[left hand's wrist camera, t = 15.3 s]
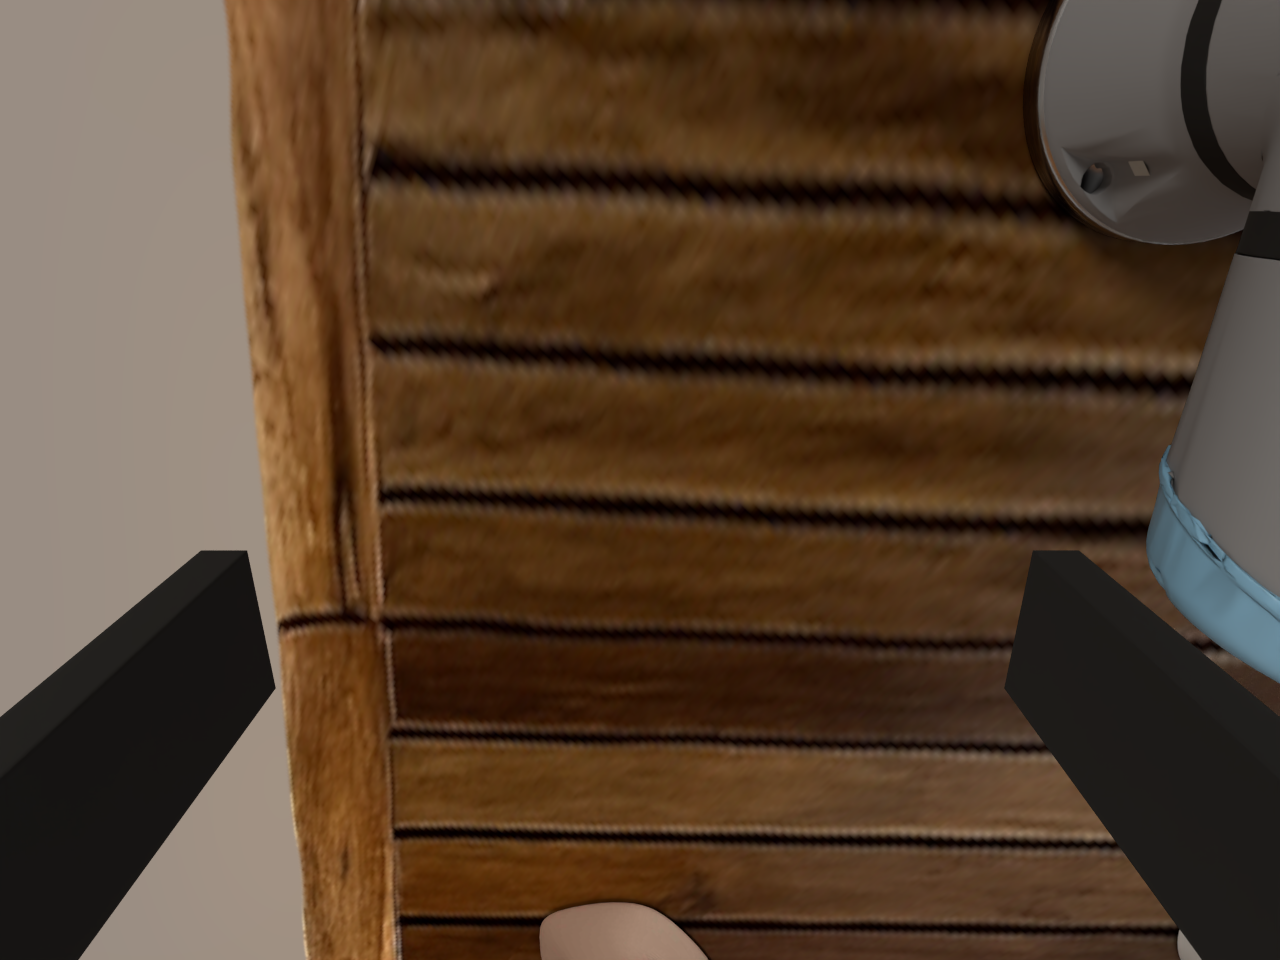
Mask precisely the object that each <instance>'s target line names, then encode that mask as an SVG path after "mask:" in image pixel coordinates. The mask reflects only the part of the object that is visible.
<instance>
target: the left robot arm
mask: <svg viewBox="0 0 1280 960" xmlns="http://www.w3.org/2000/svg"><path fill="white" fill-rule="evenodd" d="M1023 115H1024V127H1025V133H1026V140H1027V144H1028V147H1029V151H1030V155H1031V158H1032V160H1033V163H1034V166H1035V168H1036V171H1037V173H1038V175H1039V177H1040V179H1041V180H1042V182H1043V184H1044V186H1045V187H1046V189H1047V190H1048V192H1049V193H1050V195H1051V196H1052V197H1053V198H1054V199H1055V201H1056V202H1057V203H1058V204H1059V205H1060V206H1061V207H1062V208H1063V209H1064V210H1065V211H1066V212H1067V213H1068V214H1069V215H1070V216H1072V217H1073V218H1075V219H1076V220H1077V221H1079V222H1080V223H1081V224H1083V225H1085V226H1087V227H1089V228H1090V229H1092V230H1094V231H1097V232H1099V233H1102V234H1104V235H1106V236H1110V237H1114V238H1117V239H1121V240H1127V241H1134V242H1142V243H1151V244H1164V245H1181V244H1192V243H1199V242H1205V241H1209V240H1213V239H1217V238H1221V237H1224V236H1227V235H1230V234H1233V233H1235V232H1238V231H1240V230H1242V229H1244V230H1243V233H1242V236H1241V239H1240V242H1239V245H1238V248H1237V251H1236V253H1235V254H1234V256H1233V260H1232V263H1231V266H1230V269H1229V272H1228V275H1227V278H1226V281H1225V284H1224V287H1223V291H1222V294H1221V297H1220V300H1219V303H1218V306H1217V309H1216V312H1215V315H1214V318H1213V321H1212V325H1211V328H1210V331H1209V334H1208V337H1207V340H1206V343H1205V346H1204V349H1203V352H1202V356H1201V359H1200V362H1199V365H1198V368H1197V371H1196V374H1195V377H1194V380H1193V383H1192V387H1191V390H1190V393H1189V395H1188V398H1187V401H1186V404H1185V407H1184V410H1183V413H1182V415H1181V418H1180V421H1179V424H1178V427H1177V430H1176V433H1175V436H1174V438H1173V441H1172V444H1171V445H1169V446H1168V447H1167V449H1166V450H1165V452H1164V454H1163V457H1162V460H1161V462H1160V464H1159V478H1160V486H1159V490H1158V495H1157V499H1156V503H1155V507H1154V511H1153V515H1152V518H1151V522H1150V525H1149V529H1148V534H1147V540H1146V544H1147V548H1146V550H1147V556H1148V561H1149V565H1150V568H1151V570H1152V572H1153V574H1154V575H1155V577H1156V579H1157V581H1158V583H1159V584H1160V585H1161V586H1162V587H1163V588H1164V589H1165V591H1166V595H1167V596H1168V598H1169V600H1170V601H1171V602H1172V604H1173V605H1174V606H1175V607H1176V608H1177V609H1178V610H1179V611H1180V612H1181V613H1182V614H1183V615H1184V616H1185V617H1186V618H1187V619H1188V620H1189V621H1190V622H1191V623H1192V624H1193V625H1194V626H1195V627H1197V628H1198V629H1199V630H1200V631H1201V632H1203V633H1204V634H1205V635H1206V636H1207V637H1209V638H1210V639H1211V640H1213V641H1214V642H1215V643H1216V644H1218V645H1219V646H1220V647H1222V648H1223V649H1225V650H1226V651H1228V652H1229V653H1230V654H1232V655H1233V656H1235V657H1237V658H1238V659H1240V660H1241V661H1243V662H1244V663H1246V664H1248V665H1249V666H1251V667H1252V668H1254V669H1256V670H1257V671H1259V672H1261V673H1262V674H1264V675H1266V676H1268V677H1269V678H1271V679H1273V680H1275V681H1276V682H1278V683H1280V0H1050V2H1049V4H1048V6H1047V8H1046V10H1045V12H1044V14H1043V16H1042V19H1041V21H1040V24H1039V26H1038V29H1037V32H1036V34H1035V37H1034V40H1033V44H1032V47H1031V51H1030V54H1029V59H1028V64H1027V68H1026V74H1025V82H1024V93H1023ZM274 690H275V683H274V678H273V673H272V668H271V664H270V659H269V654H268V649H267V644H266V640H265V635H264V630H263V625H262V620H261V616H260V611H259V606H258V601H257V596H256V591H255V587H254V582H253V577H252V572H251V568H250V563H249V558H248V553H247V551H200V552H199V553H198V554H196V555H195V556H194V557H193V558H192V559H190V560H189V561H188V562H187V563H186V564H184V565H183V566H182V567H181V568H180V569H178V570H177V571H176V572H175V573H174V574H172V575H171V576H170V577H169V578H168V579H166V580H165V581H164V582H163V583H161V584H160V585H159V586H158V587H157V588H155V589H154V590H153V591H152V592H151V593H149V594H148V595H147V596H146V597H145V598H143V599H142V600H141V601H140V602H139V603H137V604H136V605H135V606H134V607H132V608H131V609H130V610H129V611H128V612H126V613H125V614H124V615H123V616H122V617H120V618H119V619H118V620H117V621H116V622H114V623H113V624H112V625H111V626H110V627H108V628H107V629H106V630H105V631H104V632H102V633H101V634H100V635H99V636H98V637H96V638H95V639H94V640H93V641H91V642H90V643H89V644H88V645H87V646H85V647H84V648H83V649H82V650H81V651H79V652H78V653H77V654H76V655H75V656H73V657H72V658H71V659H70V660H69V661H67V662H66V663H65V664H64V665H63V666H61V667H60V668H59V669H58V670H57V671H55V672H54V673H53V674H52V675H51V676H49V677H48V678H47V679H46V680H44V681H43V682H42V683H41V684H40V685H38V686H37V687H36V688H35V689H34V690H32V691H31V692H30V693H29V694H28V695H26V696H25V697H24V698H23V699H22V700H20V701H19V702H18V703H17V704H16V705H14V706H13V707H12V708H11V709H9V710H8V711H7V712H6V713H5V714H3V715H2V716H1V717H0V960H78V959H79V958H80V957H81V955H82V954H83V953H84V951H85V950H86V948H87V947H88V946H89V944H90V943H91V941H92V940H93V939H94V937H95V936H96V935H97V933H98V932H99V931H100V929H101V928H102V926H103V925H104V924H105V922H106V921H107V920H108V918H109V917H110V915H111V914H112V913H113V911H114V910H115V909H116V907H117V906H118V904H119V903H120V902H121V900H122V899H123V898H124V896H125V895H126V893H127V892H128V891H129V889H130V888H131V886H132V885H133V884H134V882H135V881H136V880H137V878H138V877H139V876H140V874H141V873H142V871H143V870H144V869H145V867H146V866H147V865H148V863H149V862H150V860H151V859H152V858H153V856H154V855H155V854H156V852H157V851H158V849H159V848H160V847H161V845H162V844H163V843H164V841H165V840H166V838H167V837H168V836H169V834H170V833H171V831H172V830H173V829H174V827H175V826H176V825H177V823H178V822H179V821H180V819H181V818H182V816H183V815H184V814H185V812H186V811H187V809H188V808H189V807H190V805H191V804H192V803H193V801H194V800H195V798H196V797H197V796H198V794H199V793H200V792H201V790H202V789H203V787H204V786H205V785H206V783H207V782H208V780H209V779H210V778H211V776H212V775H213V774H214V772H215V771H216V770H217V768H218V767H219V765H220V764H221V763H222V761H223V760H224V759H225V757H226V756H227V754H228V753H229V752H230V750H231V749H232V748H233V746H234V745H235V743H236V742H237V741H238V739H239V738H240V737H241V735H242V734H243V732H244V731H245V730H246V728H247V727H248V726H249V724H250V723H251V721H252V720H253V719H254V717H255V716H256V714H257V713H258V712H259V710H260V709H261V708H262V706H263V705H264V703H265V702H266V701H267V699H268V698H269V697H270V695H271V694H272V692H273V691H274ZM1005 690H1006V691H1007V693H1008V694H1009V695H1010V697H1011V698H1012V699H1013V701H1014V702H1015V704H1016V705H1017V706H1018V708H1019V709H1020V710H1021V712H1022V713H1023V715H1024V716H1025V717H1026V719H1027V720H1028V721H1029V723H1030V724H1031V726H1032V727H1033V728H1034V730H1035V731H1036V732H1037V734H1038V735H1039V737H1040V738H1041V739H1042V741H1043V742H1044V743H1045V745H1046V746H1047V748H1048V749H1049V750H1050V752H1051V753H1052V754H1053V756H1054V757H1055V759H1056V760H1057V761H1058V763H1059V764H1060V765H1061V767H1062V768H1063V770H1064V771H1065V772H1066V774H1067V775H1068V776H1069V778H1070V779H1071V781H1072V782H1073V783H1074V785H1075V786H1076V787H1077V789H1078V790H1079V792H1080V793H1081V794H1082V796H1083V797H1084V798H1085V800H1086V801H1087V803H1088V804H1089V805H1090V807H1091V808H1092V809H1093V811H1094V812H1095V814H1096V815H1097V816H1098V818H1099V819H1100V821H1101V822H1102V823H1103V825H1104V826H1105V827H1106V829H1107V830H1108V832H1109V833H1110V834H1111V836H1112V837H1113V838H1114V840H1115V841H1116V843H1117V844H1118V845H1119V847H1120V848H1121V849H1122V851H1123V852H1124V854H1125V855H1126V856H1127V858H1128V859H1129V860H1130V862H1131V863H1132V865H1133V866H1134V867H1135V869H1136V870H1137V871H1138V873H1139V874H1140V876H1141V877H1142V878H1143V880H1144V881H1145V882H1146V884H1147V885H1148V887H1149V888H1150V889H1151V891H1152V892H1153V893H1154V895H1155V896H1156V898H1157V899H1158V900H1159V902H1160V903H1161V904H1162V906H1163V907H1164V909H1165V910H1166V911H1167V913H1168V914H1169V915H1170V917H1171V918H1172V920H1173V921H1174V922H1175V924H1176V925H1177V926H1178V928H1179V929H1180V931H1181V932H1182V933H1183V935H1184V936H1185V937H1186V939H1187V940H1188V942H1189V943H1190V944H1191V946H1192V947H1193V948H1194V950H1195V951H1196V953H1197V954H1198V955H1199V957H1200V958H1201V960H1280V717H1279V716H1278V715H1277V714H1275V713H1274V712H1273V711H1272V710H1271V709H1269V708H1268V707H1267V706H1266V705H1264V704H1263V703H1262V702H1261V701H1260V700H1258V699H1257V698H1256V697H1255V696H1254V695H1252V694H1251V693H1250V692H1249V691H1248V690H1246V689H1245V688H1244V687H1243V686H1242V685H1240V684H1239V683H1238V682H1237V681H1236V680H1234V679H1233V678H1232V677H1231V676H1230V675H1228V674H1227V673H1226V672H1225V671H1223V670H1222V669H1221V668H1220V667H1219V666H1217V665H1216V664H1215V663H1214V662H1213V661H1211V660H1210V659H1209V658H1208V657H1207V656H1205V655H1204V654H1203V653H1202V652H1201V651H1199V650H1198V649H1197V648H1196V647H1195V646H1193V645H1192V644H1191V643H1190V642H1189V641H1187V640H1186V639H1185V638H1184V637H1182V636H1181V635H1180V634H1179V633H1178V632H1176V631H1175V630H1174V629H1173V628H1172V627H1170V626H1169V625H1168V624H1167V623H1166V622H1164V621H1163V620H1162V619H1161V618H1160V617H1158V616H1157V615H1156V614H1155V613H1154V612H1152V611H1151V610H1150V609H1149V608H1148V607H1146V606H1145V605H1144V604H1143V603H1141V602H1140V601H1139V600H1138V599H1137V598H1135V597H1134V596H1133V595H1132V594H1131V593H1129V592H1128V591H1127V590H1126V589H1125V588H1123V587H1122V586H1121V585H1120V584H1119V583H1117V582H1116V581H1115V580H1114V579H1113V578H1111V577H1110V576H1109V575H1108V574H1106V573H1105V572H1104V571H1103V570H1102V569H1100V568H1099V567H1098V566H1097V565H1096V564H1094V563H1093V562H1092V561H1091V560H1090V559H1088V558H1087V557H1086V556H1085V555H1084V554H1082V553H1081V552H1080V551H1033V553H1032V558H1031V563H1030V567H1029V572H1028V577H1027V582H1026V587H1025V591H1024V596H1023V601H1022V606H1021V611H1020V616H1019V620H1018V625H1017V630H1016V635H1015V640H1014V644H1013V649H1012V654H1011V659H1010V664H1009V668H1008V673H1007V678H1006V683H1005Z"/></svg>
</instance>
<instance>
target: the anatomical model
mask: <svg viewBox="0 0 1280 960" xmlns="http://www.w3.org/2000/svg"><path fill="white" fill-rule="evenodd" d="M540 949H541V957H542V960H708V959H707V957H706V956H705V954H704V953H703V952H702V951H701V950H700V948H699V947H698V946H697V945H696V944H695V943H694V942H693V941H692V940H691V939H690V938H689V937H688V936H687V935H686V934H685V933H684V932H683V931H682V930H681V929H680V928H679V927H678V926H677V925H676V924H674V923H673V922H672V921H671V920H669V919H668V918H667V917H665V916H664V915H662V914H661V913H659V912H657V911H656V910H654V909H652V908H649V907H646V906H643V905H640V904H635V903H626V902H608V903H596V904H588V905H582V906H577V907H572V908H568V909H564V910H560V911H557V912H555V913H553V914H550V915H549V916H548V917H546V918H545V919H544V921H543V922H542V924H541V928H540Z"/></svg>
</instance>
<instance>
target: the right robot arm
mask: <svg viewBox="0 0 1280 960" xmlns="http://www.w3.org/2000/svg"><path fill="white" fill-rule="evenodd" d="M1177 946H1178V953H1179V957H1180V959H1181V960H1201V958H1200V957H1199V955H1198V954H1197V953H1196V951H1195V950H1194V948H1193V947H1192V946H1191V944H1190V943H1189V942H1188V940H1187V939H1186V937H1185V936H1184V935H1183V933H1182V932H1181V931H1180V930H1179V934H1178V941H1177Z"/></svg>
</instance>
